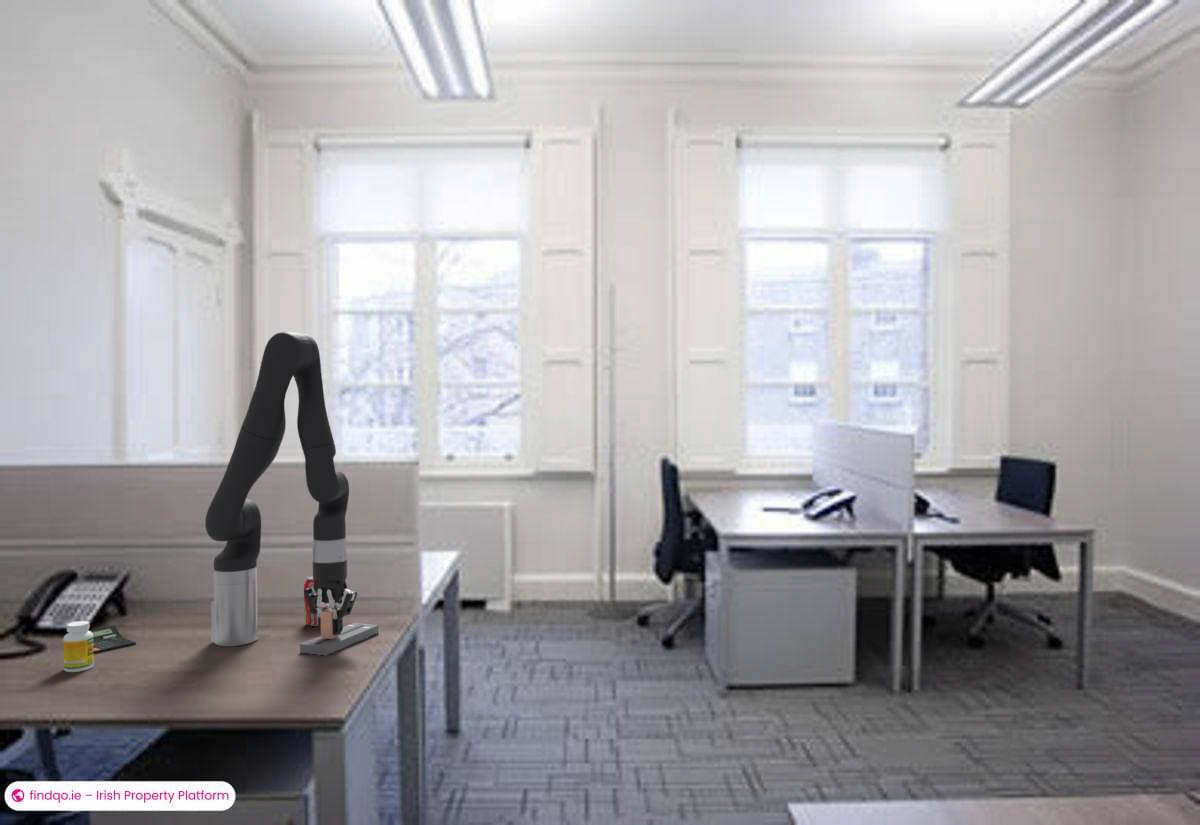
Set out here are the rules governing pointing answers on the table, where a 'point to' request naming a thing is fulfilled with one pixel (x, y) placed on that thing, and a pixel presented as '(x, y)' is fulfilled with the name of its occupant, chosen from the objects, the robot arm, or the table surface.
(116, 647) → the calculator
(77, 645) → the supplement bottle
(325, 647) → the fader console
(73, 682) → the table surface
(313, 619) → the soda can
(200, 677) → the table surface
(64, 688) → the table surface
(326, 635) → the fader knob
